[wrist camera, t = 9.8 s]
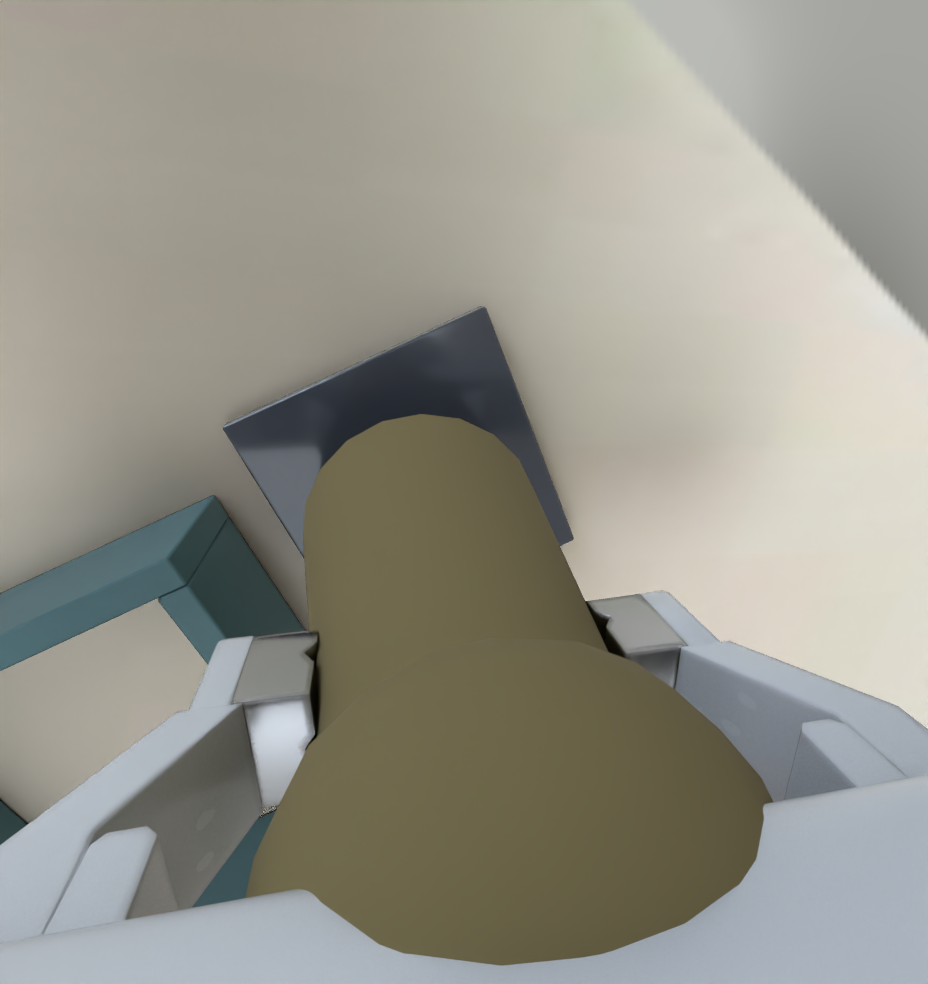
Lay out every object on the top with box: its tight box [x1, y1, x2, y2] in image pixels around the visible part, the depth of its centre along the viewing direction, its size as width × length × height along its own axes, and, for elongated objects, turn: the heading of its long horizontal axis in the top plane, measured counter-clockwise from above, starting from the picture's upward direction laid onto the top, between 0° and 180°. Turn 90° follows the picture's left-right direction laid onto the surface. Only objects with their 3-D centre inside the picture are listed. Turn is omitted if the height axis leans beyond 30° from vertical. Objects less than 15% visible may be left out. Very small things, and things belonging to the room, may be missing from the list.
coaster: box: [223, 306, 574, 558], centre depth 17 cm, size 8×8×1 cm
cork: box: [245, 414, 773, 966], centre depth 9 cm, size 6×6×11 cm
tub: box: [0, 496, 305, 908], centre depth 16 cm, size 13×13×4 cm
